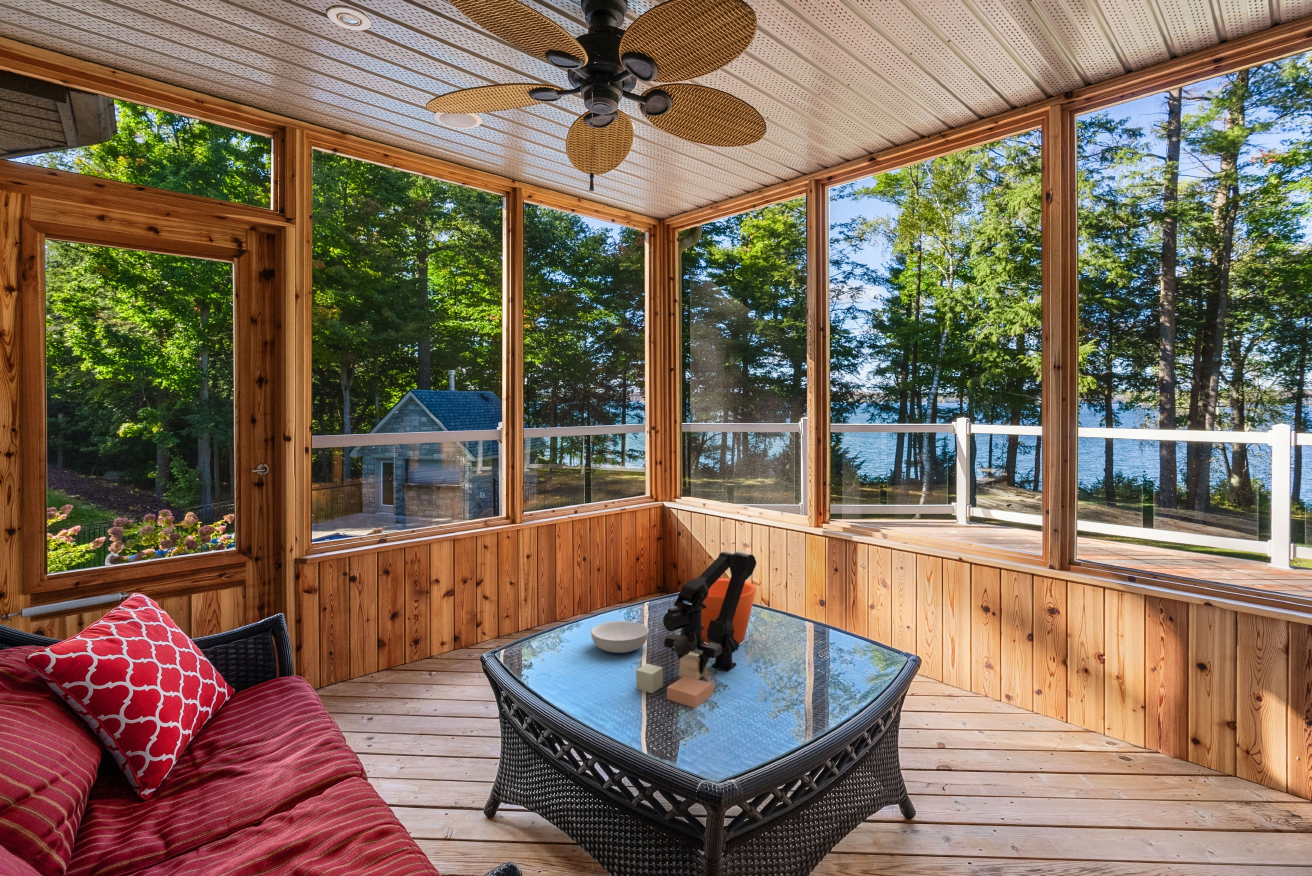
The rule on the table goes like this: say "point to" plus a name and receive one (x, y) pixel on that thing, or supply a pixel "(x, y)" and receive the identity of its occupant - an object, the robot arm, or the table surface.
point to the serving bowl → (619, 636)
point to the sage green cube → (649, 678)
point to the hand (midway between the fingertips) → (692, 671)
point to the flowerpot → (715, 604)
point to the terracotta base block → (689, 691)
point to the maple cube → (690, 666)
